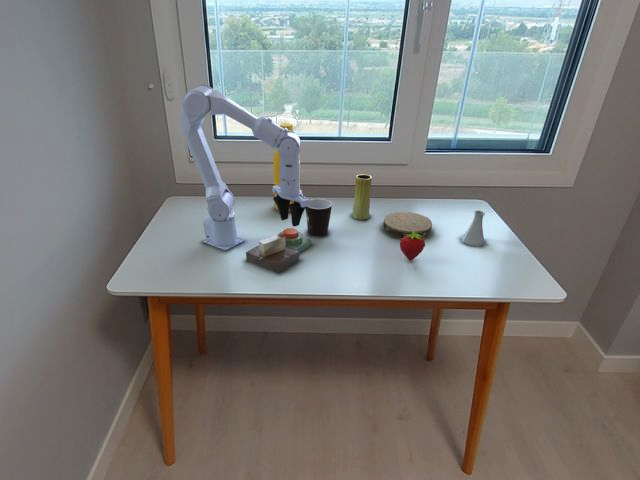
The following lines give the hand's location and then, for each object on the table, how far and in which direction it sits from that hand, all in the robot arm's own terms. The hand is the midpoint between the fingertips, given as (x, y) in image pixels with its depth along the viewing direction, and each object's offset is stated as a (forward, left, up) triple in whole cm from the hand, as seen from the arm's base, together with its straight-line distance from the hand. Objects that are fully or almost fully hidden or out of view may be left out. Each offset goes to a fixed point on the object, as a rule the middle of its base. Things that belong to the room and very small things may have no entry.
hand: (290, 222), depth 135 cm
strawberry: (+34, +14, -8) cm, 38 cm away
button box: (0, 0, -8) cm, 8 cm away
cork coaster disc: (+24, +33, -8) cm, 42 cm away
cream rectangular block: (+2, -11, -5) cm, 12 cm away
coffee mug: (+1, +14, -8) cm, 16 cm away
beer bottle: (-19, +23, -8) cm, 31 cm away
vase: (+6, +33, -8) cm, 34 cm away
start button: (0, 0, -5) cm, 5 cm away
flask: (+45, +38, -8) cm, 59 cm away
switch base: (+2, -11, -8) cm, 14 cm away
